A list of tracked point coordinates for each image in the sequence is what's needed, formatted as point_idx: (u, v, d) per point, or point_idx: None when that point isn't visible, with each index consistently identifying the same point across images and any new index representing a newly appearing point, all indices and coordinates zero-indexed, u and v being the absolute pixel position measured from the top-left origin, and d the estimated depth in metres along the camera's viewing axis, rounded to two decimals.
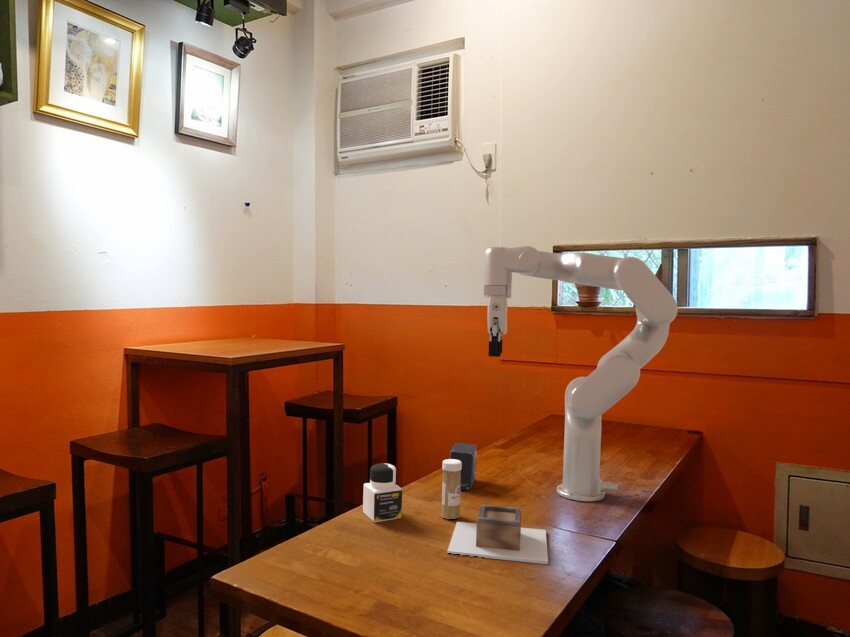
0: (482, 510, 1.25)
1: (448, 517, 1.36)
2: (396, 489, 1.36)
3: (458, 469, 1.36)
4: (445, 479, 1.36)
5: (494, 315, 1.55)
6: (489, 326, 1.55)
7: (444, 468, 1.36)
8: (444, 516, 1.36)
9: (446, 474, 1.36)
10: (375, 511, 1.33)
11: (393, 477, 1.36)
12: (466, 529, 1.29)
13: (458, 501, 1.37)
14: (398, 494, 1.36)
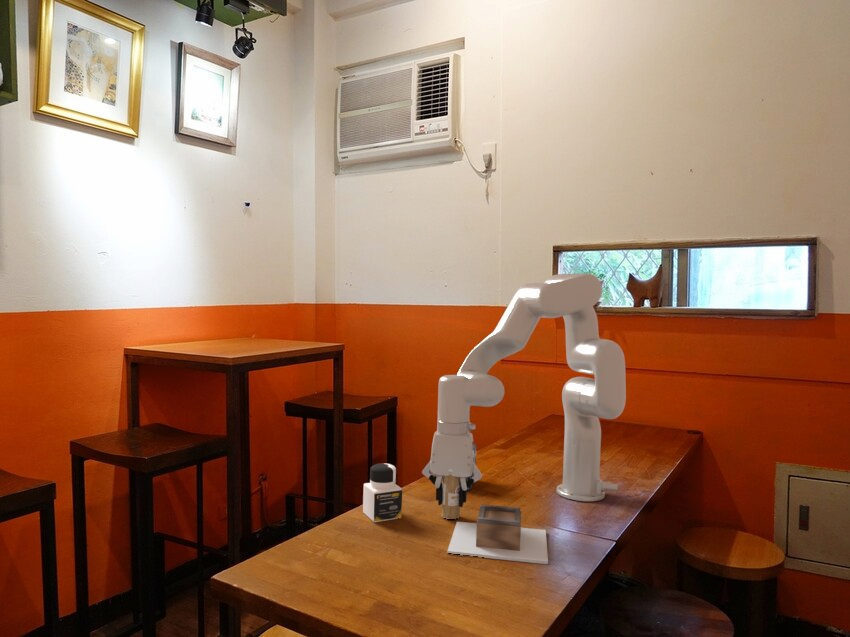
0: (482, 510, 1.25)
1: (448, 517, 1.36)
2: (396, 489, 1.36)
3: None
4: (445, 479, 1.36)
5: (473, 455, 1.36)
6: (472, 469, 1.35)
7: None
8: (444, 516, 1.36)
9: None
10: (375, 511, 1.33)
11: (393, 477, 1.36)
12: (466, 529, 1.29)
13: (458, 501, 1.37)
14: (398, 494, 1.36)
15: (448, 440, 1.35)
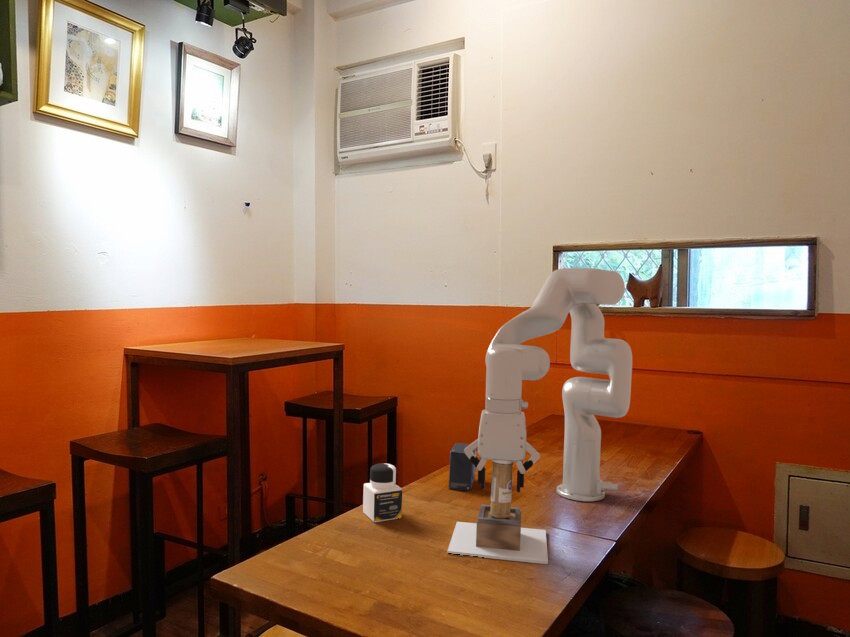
0: (482, 510, 1.25)
1: (498, 515, 1.22)
2: (396, 489, 1.36)
3: (510, 461, 1.23)
4: (495, 473, 1.23)
5: None
6: (525, 452, 1.21)
7: (495, 460, 1.23)
8: (494, 514, 1.23)
9: (496, 467, 1.23)
10: (375, 511, 1.33)
11: (393, 477, 1.36)
12: (466, 529, 1.29)
13: (509, 498, 1.23)
14: (398, 494, 1.36)
15: (498, 419, 1.21)
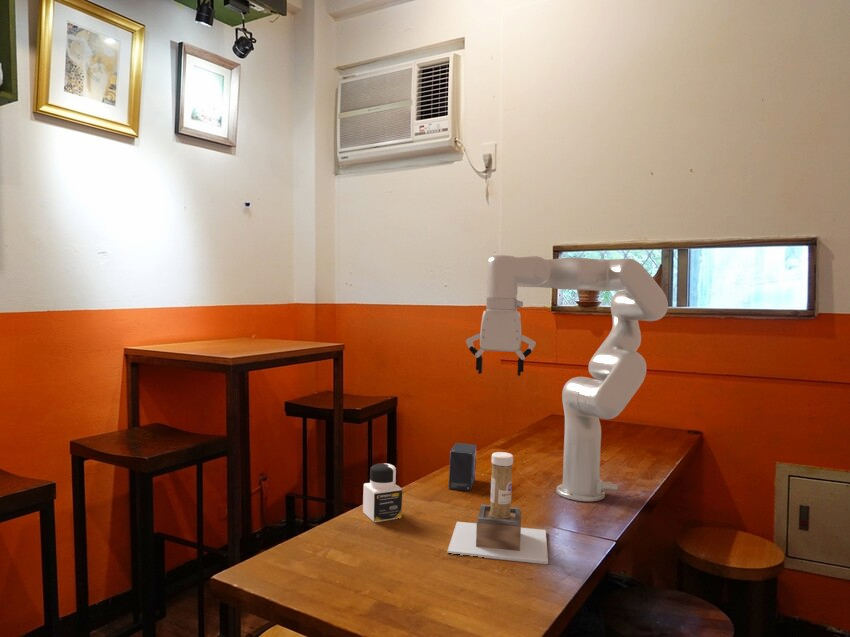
0: (482, 510, 1.25)
1: (498, 517, 1.22)
2: (396, 489, 1.36)
3: (510, 463, 1.22)
4: (495, 475, 1.22)
5: None
6: (520, 343, 1.42)
7: (494, 462, 1.22)
8: (493, 515, 1.22)
9: (496, 469, 1.22)
10: (375, 511, 1.33)
11: (393, 477, 1.36)
12: (466, 529, 1.29)
13: (509, 499, 1.23)
14: (398, 494, 1.36)
15: (497, 315, 1.42)
